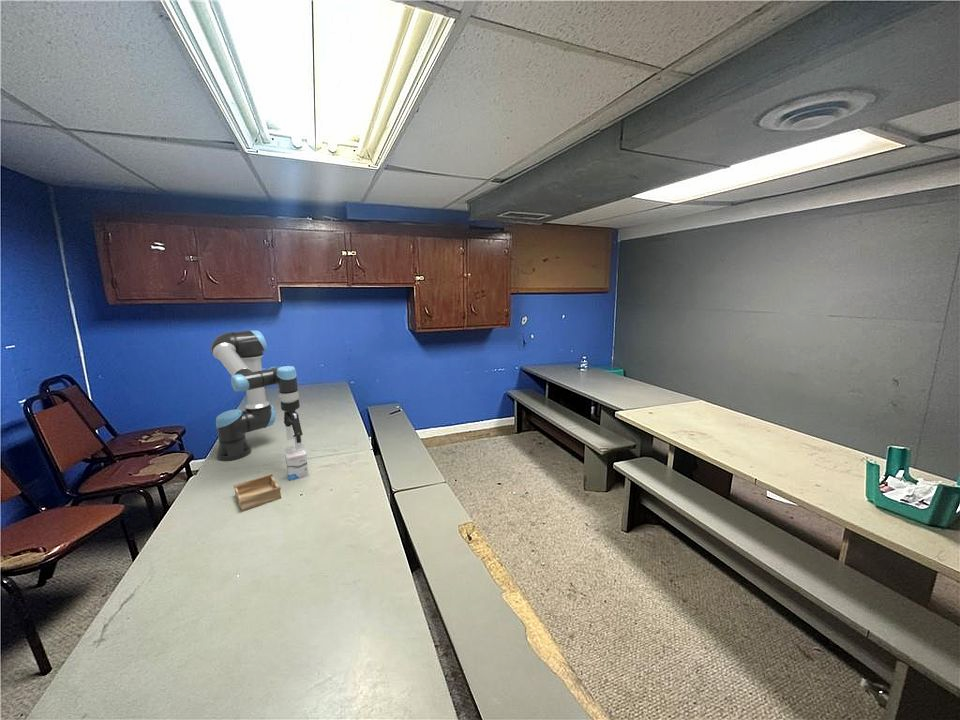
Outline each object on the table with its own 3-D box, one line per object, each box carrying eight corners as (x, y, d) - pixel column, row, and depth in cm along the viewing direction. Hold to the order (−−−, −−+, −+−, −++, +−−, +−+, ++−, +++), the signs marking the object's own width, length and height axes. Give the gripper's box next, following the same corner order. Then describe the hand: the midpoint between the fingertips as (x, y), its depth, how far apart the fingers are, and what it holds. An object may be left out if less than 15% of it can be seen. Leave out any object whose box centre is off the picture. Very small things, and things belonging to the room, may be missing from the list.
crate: (235, 496, 158) (233, 485, 157) (273, 483, 168) (271, 473, 167) (241, 512, 147) (239, 501, 146) (281, 498, 157) (280, 487, 156)
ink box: (288, 481, 170) (285, 452, 167) (287, 476, 174) (284, 447, 171) (308, 475, 175) (305, 447, 171) (307, 471, 179) (304, 443, 175)
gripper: (273, 395, 173) (278, 437, 177) (288, 409, 154) (293, 455, 159) (290, 392, 177) (295, 433, 182) (307, 405, 159) (311, 450, 164)
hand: (294, 443), depth 170 cm, fingers open, 13 cm apart
